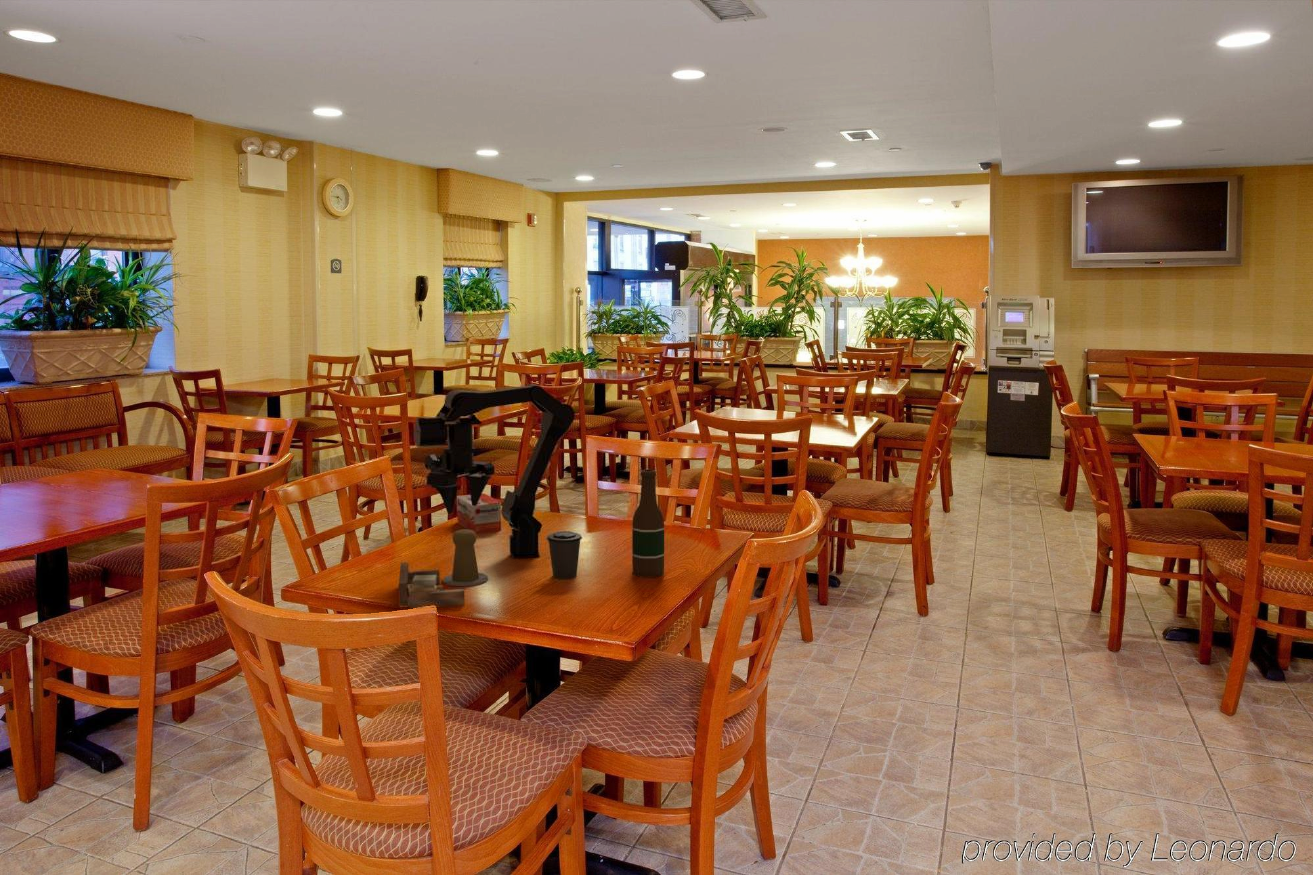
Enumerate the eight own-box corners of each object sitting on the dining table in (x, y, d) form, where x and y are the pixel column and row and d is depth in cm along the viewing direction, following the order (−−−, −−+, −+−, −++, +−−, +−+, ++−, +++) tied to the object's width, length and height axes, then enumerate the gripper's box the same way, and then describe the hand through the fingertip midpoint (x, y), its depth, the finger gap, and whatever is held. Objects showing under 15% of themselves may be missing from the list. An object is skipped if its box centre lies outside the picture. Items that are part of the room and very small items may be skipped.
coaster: (486, 572, 220) (486, 570, 220) (489, 585, 211) (489, 583, 211) (442, 575, 218) (442, 573, 218) (442, 588, 208) (442, 586, 208)
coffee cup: (554, 582, 213) (554, 539, 211) (541, 573, 220) (541, 531, 218) (588, 578, 216) (588, 534, 215) (574, 568, 224) (574, 527, 222)
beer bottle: (669, 570, 223) (670, 468, 219) (658, 579, 216) (659, 474, 212) (638, 566, 225) (638, 466, 222) (626, 575, 218) (626, 472, 215)
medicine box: (456, 523, 269) (455, 495, 268) (484, 519, 273) (483, 492, 272) (473, 534, 256) (473, 505, 255) (502, 531, 260) (502, 502, 259)
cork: (453, 574, 217) (452, 527, 216) (480, 574, 218) (479, 526, 216) (450, 582, 211) (448, 533, 210) (477, 581, 212) (476, 533, 210)
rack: (461, 580, 214) (461, 558, 213) (464, 605, 197) (464, 580, 196) (401, 584, 211) (400, 561, 210) (399, 609, 194) (398, 584, 193)
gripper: (458, 436, 236) (459, 498, 238) (406, 447, 220) (409, 513, 222) (495, 439, 231) (496, 503, 233) (445, 450, 215) (447, 518, 217)
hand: (462, 509), depth 227 cm, fingers open, 9 cm apart
